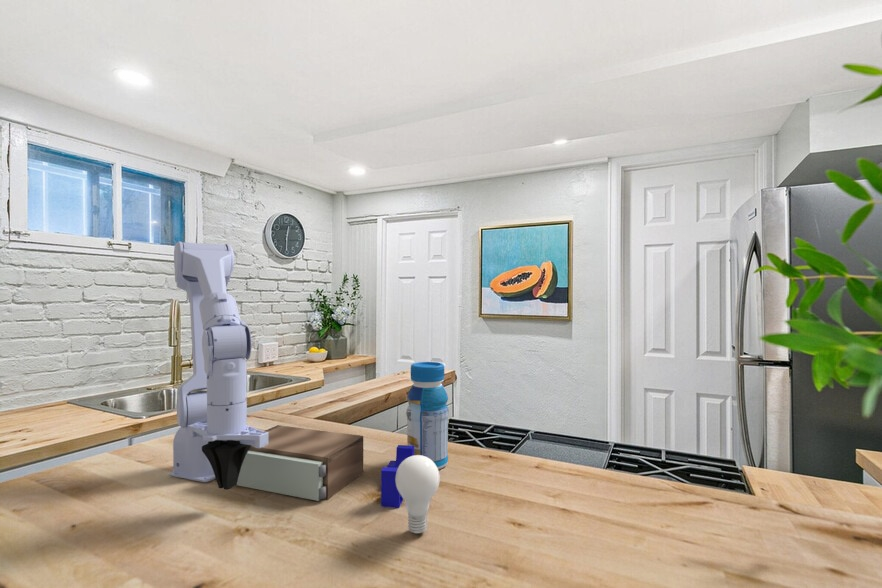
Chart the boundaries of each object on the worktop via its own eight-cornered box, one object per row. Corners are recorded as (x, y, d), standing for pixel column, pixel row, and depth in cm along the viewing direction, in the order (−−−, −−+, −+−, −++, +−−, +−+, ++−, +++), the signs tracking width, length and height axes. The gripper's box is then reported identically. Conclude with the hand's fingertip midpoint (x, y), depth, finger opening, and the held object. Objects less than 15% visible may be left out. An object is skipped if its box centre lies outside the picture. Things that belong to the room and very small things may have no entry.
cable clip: (390, 476, 84) (390, 444, 84) (414, 477, 84) (414, 445, 84) (372, 507, 73) (371, 470, 73) (399, 509, 72) (399, 471, 72)
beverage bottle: (440, 475, 85) (440, 368, 84) (399, 469, 87) (399, 366, 87) (454, 458, 92) (453, 361, 92) (415, 454, 95) (415, 359, 95)
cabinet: (234, 482, 82) (233, 443, 82) (278, 459, 93) (277, 425, 93) (328, 499, 75) (327, 457, 75) (363, 472, 86) (363, 435, 86)
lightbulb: (423, 550, 60) (423, 468, 60) (386, 536, 64) (386, 459, 63) (448, 528, 66) (447, 453, 65) (412, 517, 69) (412, 445, 69)
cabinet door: (227, 483, 80) (227, 449, 80) (232, 480, 81) (232, 447, 81) (323, 501, 73) (323, 465, 73) (327, 498, 74) (327, 462, 74)
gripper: (170, 403, 70) (171, 489, 70) (244, 412, 65) (244, 505, 65) (208, 393, 77) (208, 472, 77) (277, 400, 72) (278, 485, 72)
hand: (227, 486), depth 71 cm, fingers closed
